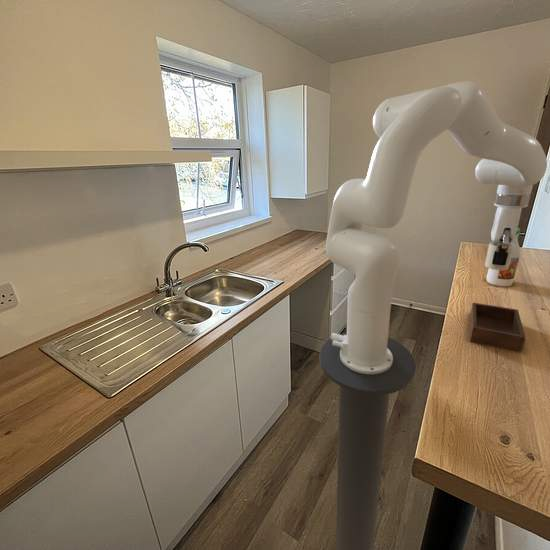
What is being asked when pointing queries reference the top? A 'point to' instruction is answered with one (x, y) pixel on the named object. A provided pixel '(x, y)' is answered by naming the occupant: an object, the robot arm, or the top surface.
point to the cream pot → (490, 255)
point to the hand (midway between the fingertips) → (497, 260)
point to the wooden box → (496, 327)
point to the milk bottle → (507, 275)
